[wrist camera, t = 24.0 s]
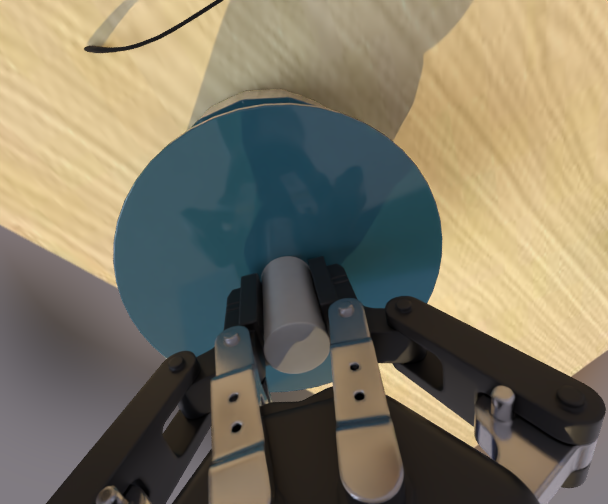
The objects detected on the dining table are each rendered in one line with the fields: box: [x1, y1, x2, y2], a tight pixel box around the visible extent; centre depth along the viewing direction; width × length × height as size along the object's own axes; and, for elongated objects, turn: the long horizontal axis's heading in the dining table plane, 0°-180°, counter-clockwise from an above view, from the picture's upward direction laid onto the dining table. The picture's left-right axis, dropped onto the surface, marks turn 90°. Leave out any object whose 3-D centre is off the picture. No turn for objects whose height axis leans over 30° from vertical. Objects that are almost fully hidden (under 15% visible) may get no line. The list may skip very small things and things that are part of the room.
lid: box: [113, 103, 442, 392], centre depth 15 cm, size 15×15×6 cm
